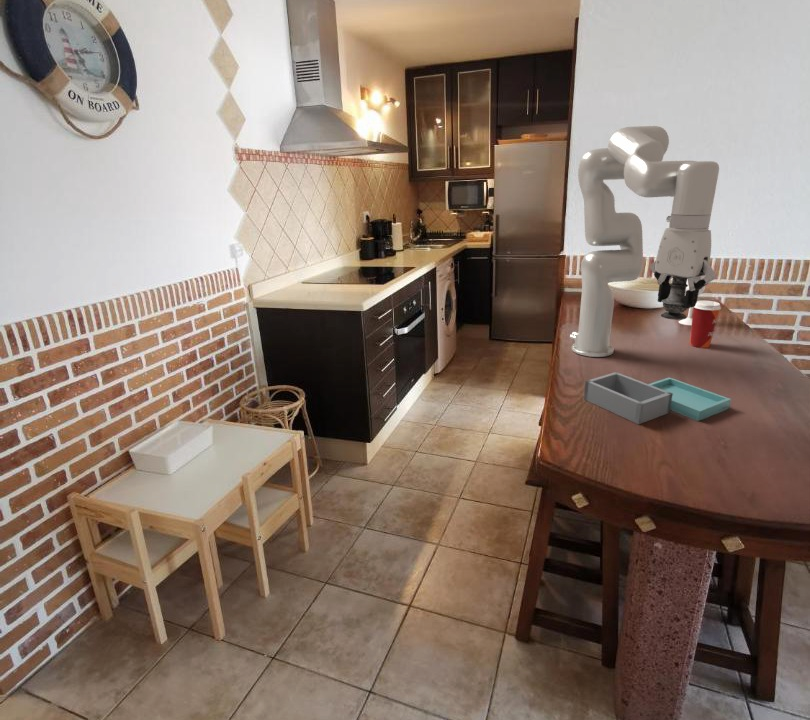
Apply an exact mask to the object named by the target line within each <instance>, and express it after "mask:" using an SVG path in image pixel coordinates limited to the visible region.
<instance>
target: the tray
mask: <svg viewBox="0 0 810 720" xmlns="http://www.w3.org/2000/svg"><path fill="white" fill-rule="evenodd" d="M648 384H649V385H652V386H654V387H657V388H660V389H662V390H665V391H667V392H670V393H673V395H672V401H671V407H670V411H672V412H675V413H678V414H680V415H682V416H684V417H687V418H690V419H691V420H693V421H697V422H700V421H701V420H705V419H707V418H709V417H711V416H715V415H717V414H719V413H721V412H724V411H727V410H729V409H730V407H731V406H730V405H731V402H732V399H731V398H729V397H726V396H723V395H720V394H718V393H715V392H713V391H709V390H706V389H703V388H700V387H698V386H696V385H692V384H689V383H687V382H683V381H681V380H678V379H675V378H672V377H666V378H663V379H660V380H656V381H654V382H651V383H648Z"/></svg>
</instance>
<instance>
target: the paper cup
mask: <svg viewBox="0 0 810 720" xmlns="http://www.w3.org/2000/svg"><path fill="white" fill-rule="evenodd" d="M721 309H722V307H721V304H720V303H719V302H718V301H713V300H697V303H696V305H695V307H693V311H692V317H691V318H692V325H691V329H690V338H689V345H690V346H691V347H693V348H699V349H707V348H708V349H709V347H710V346H711V343H712V339H713V336H714V332H715V329H716V328H715V327H716V324H717V320H718V316H719V313H720V310H721Z"/></svg>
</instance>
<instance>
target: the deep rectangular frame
mask: <svg viewBox="0 0 810 720" xmlns="http://www.w3.org/2000/svg"><path fill="white" fill-rule="evenodd" d="M649 384H650V383H647V382H644V381H641V380H638V379H635V378H633V377H631V376H629V375H628V376H627V375H625V374H622V373H621V372H617V371H614V372H611V373H608V374H604V375H601V376H597V377H594V378H591V379H588V380H585V384H584V385H585V386H584V394H583V395H584V396H583V400H584V401H586V402H589V403H591V404H593V405H595V404H596V405H595V406H598V407H600V408H602V409H604V410H606V411H608V412H611V413H612V414H615V415H617V416H619V417H621V418H623V419H626V420H628V421H629V422H633V423H634V424H635V425H640V424H644V423H645V422H648V421H651V420H654V419H656V418H657V419H658V418H659V417H662V416H664V415H668V414H670V411H671V410H670V407H671V401H672V395H673V393H670V392H667V391H665V390H662V389H660V388H657V387H654V386H652V385H649Z"/></svg>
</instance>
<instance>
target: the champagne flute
mask: <svg viewBox="0 0 810 720" xmlns="http://www.w3.org/2000/svg"><path fill="white" fill-rule="evenodd" d="M704 277H705V275H704V276H701V279H703V278H704ZM686 284H687V285H688V279H687V283H686ZM706 286H707V285H705V286H704V287H702V289H700V290H699V293H698V296H700V295H701V294H703V293H704V292H705V290H706ZM687 290H689V285H688V286H687V287H686V291H687ZM686 291H685V292H686ZM693 309H694V307H691V308H688V314H687V318H686V319H682V320H677V321H678V323H679V324H680V325H685V326H692V318H693Z"/></svg>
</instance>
